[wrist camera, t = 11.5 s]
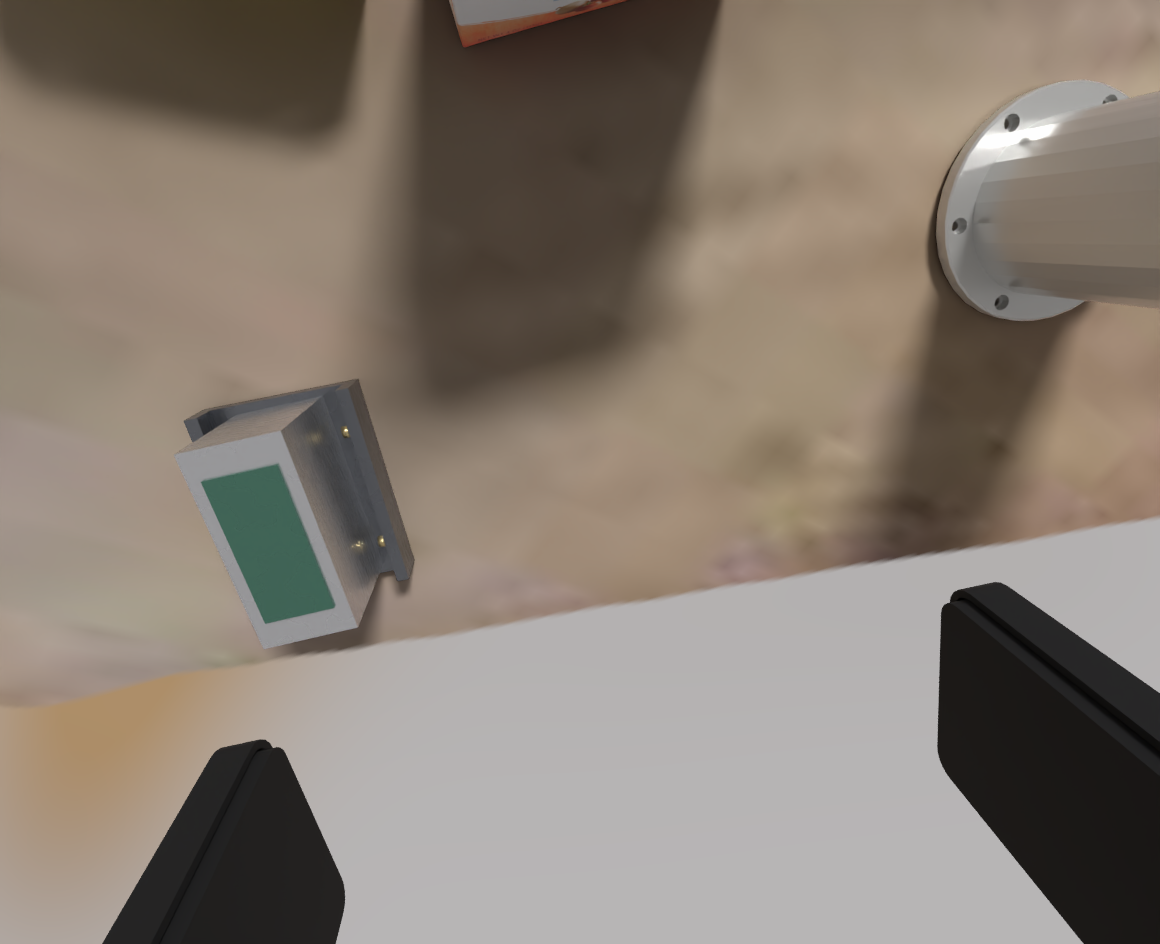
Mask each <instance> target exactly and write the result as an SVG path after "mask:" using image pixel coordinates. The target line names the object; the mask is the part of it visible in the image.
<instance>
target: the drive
mask: <svg viewBox="0 0 1160 944" xmlns="http://www.w3.org/2000/svg"><path fill="white" fill-rule="evenodd" d="M174 457H175V459H176V461H177V463H178V465H179V467H180V470H181V472H182V474H183V476H184V478H185V480H186V482H187V485H188V487H189V489H190V491H191V493H192V495H193V498H194V500H195V502H196V504H197V506H198V508H199V511H200V513H201V515H202V517H203V519H204V521H205V523H206V526H207V528H208V530H209V532H210V534H211V536H212V539H213V541H214V543H215V545H216V547H217V549H218V552H219V554H220V556H221V558H222V560H223V562H224V564H225V567H226V569H227V571H228V573H229V575H230V577H231V580H232V582H233V584H234V586H235V588H236V590H237V592H238V595H239V597H240V599H241V601H242V603H243V605H244V608H245V610H246V612H247V614H248V616H249V618H250V621H251V623H252V625H253V627H254V629H255V631H256V633H257V636H258V638H259V640H260V642H261V644H262V646H263V649H267V648H271V647H276V646H280V645H284V644H288V643H293V642H297V641H301V640H306V639H310V638H314V637H319V636H323V635H327V634H332V633H336V632H340V631H345V630H349V629H353V628H358V626H359V623H360V621H361V618H362V616H363V613H364V611H365V608H366V606H367V603H368V601H369V598H370V596H371V593H372V591H373V588H374V586H375V583H376V581H377V578H378V576H379V573H380V571H381V568H382V566H383V561H382V558H381V556H380V553H379V550H378V547H377V544H376V542H375V539H374V536H373V533H372V531H371V528H370V525H369V522H368V519H367V517H366V514H365V511H364V508H363V506H362V503H361V500H360V497H359V495H358V492H357V489H356V486H355V483H354V481H353V478H352V475H351V472H350V470H349V467H348V464H347V461H346V458H345V456H344V453H343V450H342V447H341V445H340V442H339V439H338V436H337V433H336V431H335V428H334V425H333V422H332V420H331V417H330V414H329V411H328V409H327V406H326V403H325V400H324V397H323V396H319V397H315V398H311V399H306V400H302V401H297V402H293V403H288V404H284V405H279V406H275V407H270V408H266V409H261V410H257V411H252V412H248V413H243V414H239V415H235V416H234V417H232V418H230V419H229V420H227V421H226V422H224V423H223V424H221V425H220V426H218V427H216V428H215V429H213V430H212V431H210V432H209V433H207V434H205V435H204V436H202V437H201V438H199V439H198V440H196V441H194V442H193V443H191V444H190V445H188V446H187V447H185V448H183V449H182V450H180V451H179V452H177V453H176V454H174Z"/></svg>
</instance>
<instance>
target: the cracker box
mask: <svg viewBox="0 0 1160 944" xmlns="http://www.w3.org/2000/svg"><path fill="white" fill-rule="evenodd" d="M624 1H627V0H449V2H450V6H451V9H452V12H453V16H454V19H455V22H456V26H457V29H458V32H459V36H460V39H461V42H462V45H463V47H468V46H471V45H474V44H477V43H481V42H484V41H487V40H490V39H494V38H498V37H502V36H505V35H509V34H512V33H516V32H519V31H523V30H526V29H529V28H533V27H536V26H540V25H544V24H547V23H550V22H554V21H557V20H561V19H564V18H567V17H571V16H575V15H578V14H582V13H585V12H589V11H592V10H596V9H599V8H603V7H606V6H610V5H613V4H617V3H620V2H624Z"/></svg>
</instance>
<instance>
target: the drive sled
mask: <svg viewBox="0 0 1160 944" xmlns="http://www.w3.org/2000/svg"><path fill="white" fill-rule="evenodd" d="M319 396H323V397H324V400H325V403H326V406H327V409H328V411H329V414H330V417H331V420H332V422H333V425H334V428H335V431H336V433H337V436H338V439H339V442H340V445H341V447H342V450H343V453H344V456H345V458H346V461H347V464H348V467H349V470H350V472H351V475H352V478H353V481H354V483H355V486H356V489H357V492H358V495H359V497H360V500H361V503H362V506H363V508H364V511H365V514H366V517H367V519H368V522H369V525H370V528H371V531H372V533H373V536H374V539H375V542H376V544H377V547H378V550H379V553H380V556H381V558H382V561H383V566H382V568H381V571H380V573H382V572H387V571H392V570H394V573H395V576H396V579H397V581H401V580H406V579H409V576H410V573H411V570H412V567H413V563H414V557H413V554H412V551H411V547H410V544H409V541H408V538H407V535H406V531H405V528H404V525H403V522H402V518H401V515H400V512H399V509H398V506H397V502H396V499H395V496H394V493H393V490H392V486H391V483H390V480H389V477H388V473H387V470H386V467H385V464H384V461H383V457H382V454H381V451H380V448H379V445H378V441H377V438H376V435H375V432H374V428H373V425H372V422H371V419H370V416H369V412H368V409H367V406H366V403H365V400H364V396H363V393H362V390H361V387H360V383H359V380H358V379H355V380H350V381H345V382H340V383H335V384H330V385H325V386H320V387H315V388H310V389H305V390H300V391H295V392H290V393H285V394H280V395H275V396H270V397H265V398H260V399H255V400H250V401H245V402H240V403H235V404H230V405H224V406H219V407H214V408H209V409H204V410H202V411H200V412H199V413H197V414H195V415H193V416H191V417H190V418H188V419H186V420H184V423H185V426H186V428H187V430H188V433H189V435H190V437H191V440H192V442H194V441H196V440H198V439H199V438H201V437H202V436H204V435H205V434H207V433H209V432H210V431H212V430H213V429H215V428H216V427H218V426H220V425H221V424H223V423H224V422H226V421H227V420H229V419H230V418H232V417H234V416H235V415H239V414H243V413H248V412H252V411H257V410H261V409H266V408H270V407H275V406H279V405H284V404H288V403H293V402H297V401H302V400H306V399H311V398H315V397H319Z"/></svg>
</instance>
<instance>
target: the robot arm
mask: <svg viewBox="0 0 1160 944" xmlns="http://www.w3.org/2000/svg"><path fill="white" fill-rule="evenodd" d="M952 225H953V227H952ZM936 239H937V248H938V256H939V259H940V262H941V265H942V268H943V271H944V274H945V276H946V278H947V279H948V281H949V283H950V285H951V286H952V288H953V290H954V291H955V292H956V293H957V294H958V295H959V296H960V297H961V298H962V299H963V300H964V301H965V303H967V304H968V305H970V306H971V307H973V308H975V309H976V310H978V311H979V312H981V313H984V314H987V315H990V316H993V317H996V318H1001V319H1008V320H1013V321H1035V320H1040V319H1045V318H1050V317H1054V316H1056V315H1059V314H1061V313H1064V312H1066V311H1069V310H1071V309H1073V308H1075V307H1076V306H1078V305H1080V304H1081V303H1083V302H1085V301H1092V302H1101V303H1110V304H1120V305H1129V306H1138V307H1147V308H1156V309H1160V91H1158V92H1153V93H1149V94H1145V95H1140V96H1136V97H1131V98H1129V97H1128V96H1127V95H1126V94H1124V93H1123V92H1122V91H1121V90H1118V89H1116V88H1114V87H1112V86H1109V85H1107V84H1105V83H1102V82H1095V81H1089V80H1071V81H1061V82H1057V83H1054V84H1050V85H1046V86H1042V87H1039V88H1037V89H1034V90H1032V91H1029V92H1027V93H1024V94H1022V95H1020V96H1018V97H1016V98H1015V99H1013V100H1011V101H1010V102H1008V103H1007V104H1005V105H1004V106H1002V107H1001V108H999V109H998V110H997V111H996V112H994V113H993V114H992V115H991V116H990V117H989V118H988V119H987V120H986V121H985V122H983V123H982V124H981V125H980V126H979V128H978V129H977V130H976V131H975V132H974V134H973V135H972V136H971V137H970V139H969V140H968V141H967V142H966V144H965V145H964V147H963V148H962V150H961V152H960V153H959V155H958V157H957V158H956V160H955V162H954V164H953V165H952V167H951V170H950V172H949V175H948V177H947V180H946V182H945V185H944V187H943V190H942V194H941V199H940V203H939V207H938V212H937V226H936ZM940 642H941V643H940V676H939V711H938V714H939V715H938V754H939V758H940V761H941V764H942V766H943V768H944V770H945V772H946V773H947V775H948V776H949V777H950V779H951V780H952V781H953V783H954V784H955V785H956V786H957V788H958V789H959V790H960V791H961V792H962V794H963V795H964V796H965V797H966V799H967V800H968V801H969V802H970V804H971V805H972V806H973V807H974V809H975V810H976V811H977V812H978V814H979V815H980V816H981V817H982V818H983V820H984V821H985V822H986V823H987V825H988V826H989V827H990V828H991V830H992V831H993V832H994V833H995V834H996V836H997V837H998V838H999V840H1000V841H1001V842H1002V843H1003V844H1004V846H1005V847H1006V848H1007V849H1008V851H1009V852H1010V853H1011V854H1012V856H1013V857H1014V858H1015V859H1016V861H1017V862H1018V863H1019V864H1020V866H1021V867H1022V868H1023V869H1024V870H1025V872H1026V873H1027V874H1028V875H1029V877H1030V878H1031V879H1032V880H1033V882H1034V883H1035V884H1036V885H1037V887H1038V888H1039V889H1040V890H1041V891H1042V893H1043V894H1044V895H1045V896H1046V898H1047V899H1048V900H1049V901H1050V903H1051V904H1052V905H1053V906H1054V908H1055V909H1056V910H1057V911H1058V912H1059V914H1060V915H1061V916H1062V917H1063V919H1064V920H1065V921H1066V922H1067V924H1068V925H1069V926H1070V927H1071V929H1072V930H1073V931H1074V932H1075V934H1076V935H1077V936H1078V937H1079V938H1080V940H1081V941H1082V942H1083V943H1084V944H1160V693H1158V692H1157V691H1156V690H1154V689H1153V688H1151V687H1150V686H1149V685H1147V684H1146V683H1144V682H1143V681H1142V680H1140V679H1139V678H1137V677H1136V676H1134V675H1133V674H1131V673H1130V672H1129V671H1127V670H1126V669H1125V668H1123V667H1122V666H1120V665H1119V664H1117V663H1116V662H1115V661H1113V660H1112V659H1110V658H1109V657H1107V656H1106V655H1105V654H1103V653H1101V652H1100V651H1099V650H1098V649H1096V648H1095V647H1093V646H1092V645H1090V644H1089V643H1087V642H1086V641H1085V640H1083V639H1082V638H1080V637H1079V636H1078V635H1076V634H1075V633H1073V632H1072V631H1070V630H1069V629H1068V628H1066V627H1065V626H1063V625H1062V624H1060V623H1059V622H1058V621H1056V620H1055V619H1054V618H1052V617H1051V616H1049V615H1048V614H1046V613H1045V612H1043V611H1042V610H1041V609H1039V608H1038V607H1036V606H1035V605H1033V604H1032V603H1031V602H1029V601H1028V600H1026V599H1025V598H1024V597H1022V596H1021V595H1019V594H1018V593H1017V592H1015V591H1014V590H1012V589H1011V588H1009V587H1008V586H1006V585H1004V584H1002V583H997V582H993V583H989V584H984V585H980V586H975V587H970V588H965V589H961V590H957V591H955V592H954V593H953V594H952V596H951V599H950V603H947V604H945V605H944V606H943V608H942V612H941V639H940ZM344 905H345V890H344V884H343V881H342V878H341V876H340V873H339V871H338V869H337V867H336V865H335V862H334V861H333V858H332V856H331V854H330V851H329V849H328V847H327V845H326V842H325V840H324V838H323V836H322V834H321V831H320V829H319V827H318V825H317V823H316V820H315V818H314V816H313V813H312V811H311V809H310V807H309V805H308V802H307V800H306V798H305V796H304V793H303V791H302V789H301V787H300V785H299V783H298V780H297V778H296V776H295V773H294V771H293V769H292V767H291V765H290V763H289V760H288V758H287V756H286V754H285V752H284V750H283V749H281V748H279V747H276V748H272V746H271V744H270V743H269V742H267V741H266V740H256V741H251V742H246V743H242V744H237V745H232V746H228V747H223V748H220V749H219V750H217V751H216V752H215V753H214V754H213V755H212V757H211V758H210V760H209V762H208V763H207V765H206V767H205V768H204V770H203V772H202V773H201V775H200V777H199V779H198V780H197V782H196V784H195V785H194V787H193V789H192V791H191V792H190V794H189V796H188V797H187V799H186V801H185V803H184V804H183V806H182V808H181V810H180V811H179V813H178V815H177V816H176V818H175V820H174V821H173V823H172V825H171V827H170V828H169V830H168V832H167V834H166V835H165V837H164V839H163V840H162V842H161V844H160V846H159V847H158V849H157V851H156V852H155V854H154V856H153V858H152V859H151V861H150V863H149V864H148V866H147V868H146V870H145V871H144V873H143V875H142V876H141V878H140V880H139V882H138V883H137V885H136V887H135V889H134V890H133V892H132V894H131V895H130V897H129V899H128V900H127V902H126V904H125V906H124V907H123V909H122V911H121V912H120V914H119V916H118V918H117V919H116V921H115V923H114V924H113V926H112V928H111V930H110V931H109V933H108V935H107V936H106V938H105V940H104V942H103V943H102V944H336V940H337V936H338V932H339V928H340V924H341V920H342V916H343V911H344Z"/></svg>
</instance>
